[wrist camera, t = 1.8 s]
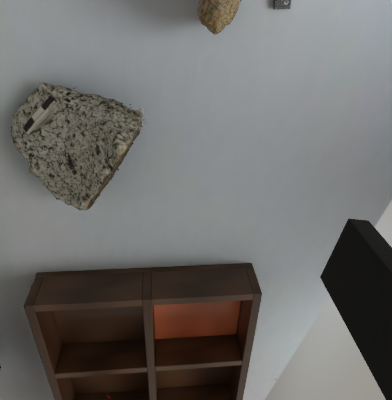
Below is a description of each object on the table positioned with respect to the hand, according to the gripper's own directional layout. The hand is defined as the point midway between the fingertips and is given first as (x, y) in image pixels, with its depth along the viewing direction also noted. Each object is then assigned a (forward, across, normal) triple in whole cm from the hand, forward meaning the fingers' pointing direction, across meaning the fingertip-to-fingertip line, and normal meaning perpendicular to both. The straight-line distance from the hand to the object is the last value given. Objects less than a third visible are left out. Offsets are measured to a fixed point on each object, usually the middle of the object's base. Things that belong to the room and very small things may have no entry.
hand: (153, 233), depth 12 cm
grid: (+17, +3, -28) cm, 33 cm away
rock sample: (+17, -6, -5) cm, 19 cm away
